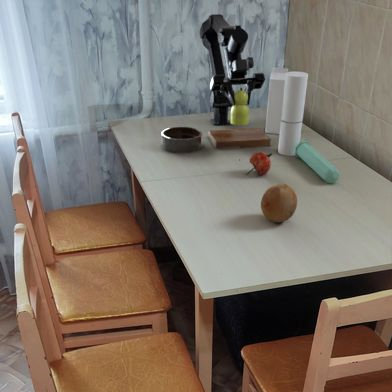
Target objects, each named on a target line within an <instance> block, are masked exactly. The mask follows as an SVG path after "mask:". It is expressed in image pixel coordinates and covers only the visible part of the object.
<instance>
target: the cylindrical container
mask: <svg viewBox="0 0 392 392" xmlns="http://www.w3.org/2000/svg"><path fill="white" fill-rule="evenodd" d="M308 79H309V73H308V72H304V71H288V72H287V73H286V78H285V87H284V97H283V107H282V117H281V127H280V134H279V136H278V138H279V139H278V147H277V153H278V154H279V155H282V156H286V157H287V156H288V157H289V156H290V157H291V156H296V154H295V153H294V152H295V146H296V145H297V144H298V143H299V142H300V141H301V136H302V127H303V121H304V111H305V105H306V104H305V103H306V96H307V95H306V94H307V87H308Z"/></svg>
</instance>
